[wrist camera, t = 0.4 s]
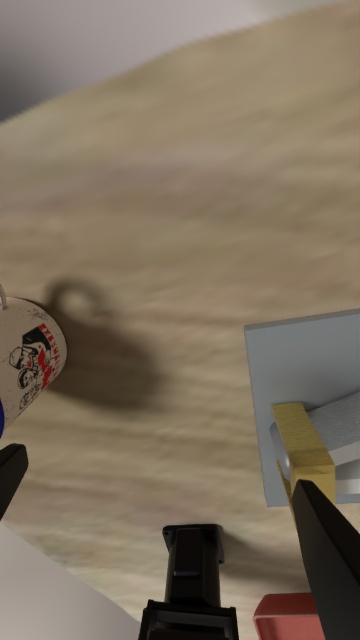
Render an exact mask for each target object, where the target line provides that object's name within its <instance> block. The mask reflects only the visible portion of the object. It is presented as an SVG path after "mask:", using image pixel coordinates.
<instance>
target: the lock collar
mask: <svg viewBox="0 0 360 640" xmlns="http://www.w3.org/2000/svg"><path fill="white" fill-rule="evenodd" d="M271 410H272V414H273V417H274V419H275V422H276V425H277V428H278V430H279V433H280V436H281V439H282V441H283V444H284V447H285V449H286V452H287V455H288V458H289V468H290V480H291V482H290V481H288V480H287V479H286V478H285V477H284V475H283V471H282V468H281V465H280V462H279V460H276V461H277V467H278V471H279V474H280V477H281V481H282V484H283V487H284V490H285V494H286V497H287V500H288V503H289V507H290V510H291V513H292V516H293V520H294V523H295V526H296V522H295V517H294V512H293V507H292V495H293V492H294V488H295V485H296V482H297V480H298V479H305V480H311V481H312V482H314V483H315V484H316V485H317V487H318V488H319V489H320V490H321V491H322V492H323V493H324V494H325V496H326V497H327V498H328V499H329V500H330V501H331V502H332V503H333V505H334V506H335V464H334V462H333V460H332V458H331V456H330V454H329V453H328V451H327V449H326V447H325V445H324V444H323V442H322V440H321V438H320V436H319V435H318V433H317V431H316V429H315V427H314V425H313V424H312V422H311V420H310V418H309V416H308V415H307V413H306V411H305V409H304V407H303V405H302V404H301V402H295V403H285V404H276V405H271ZM296 529H297V527H296ZM297 533H298V532H297Z"/></svg>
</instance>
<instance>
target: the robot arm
mask: <svg viewBox="0 0 360 640" xmlns="http://www.w3.org/2000/svg"><path fill="white" fill-rule="evenodd" d="M27 468H28V457H27V451H26V447H25V445H23V444H16V443H13V444H10V445H8V446H6V447H5V448H3V449H2V450H0V521H1V519H2V517H3V515H4V513H5V512H6V510H7V508H8V506H9V504H10V502H11V500H12V498H13V496H14V494H15V492H16V490H17V488H18V486H19V484H20V482H21V480H22V478H23V476H24V474H25V472H26V470H27ZM292 507H293V512H294V517H295V522H296V527H297V532H298V537H299V543H300V548H301V553H302V558H303V562H304V566H305V570H306V574H307V578H308V581H309V585H310V588H311V592H312V595H313V599H314V602H315V606H316V609H317V613H318V616H319V620H320V623H321V627H322V630H323V634H324V637H325V640H360V534H359V533H358V531H357V530H356V529H355V528H354V527H353V526H352V525H351V524H350V522H349V521H348V520H347V519H346V518H345V517H344V516H343V515H342V514H341V512H340V511H339V510H338V509H337V508H336V507H335V506H334V505H333V503H332V502H331V501H330V500H329V499H328V498H327V497H326V496H325V494H324V493H323V492H322V491H321V490H320V489H319V488H318V487H317V485H316V484H315V483H314V482H312V481H311V480H305V479H298V480H297V482H296V485H295V488H294V492H293V495H292ZM162 534H163V537H164V540H165V543H166V546H167V549H168V552H169V561H168V571H167V581H166V590H165V600H164V602H158V601H154V600H151V599H149V600H148V604H147V607H146V608H144V609H143V615H142V622H141V628H140V633H139V637H138V640H239V635H238V626H237V617H236V608H235V607H230V608H223V607H221V601H220V579H219V564H224V562H225V560H224V554H223V549H222V545H221V541H220V536H219V532H218V528H217V526H215V525H201V526H176V527H164V528H163V532H162Z"/></svg>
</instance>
